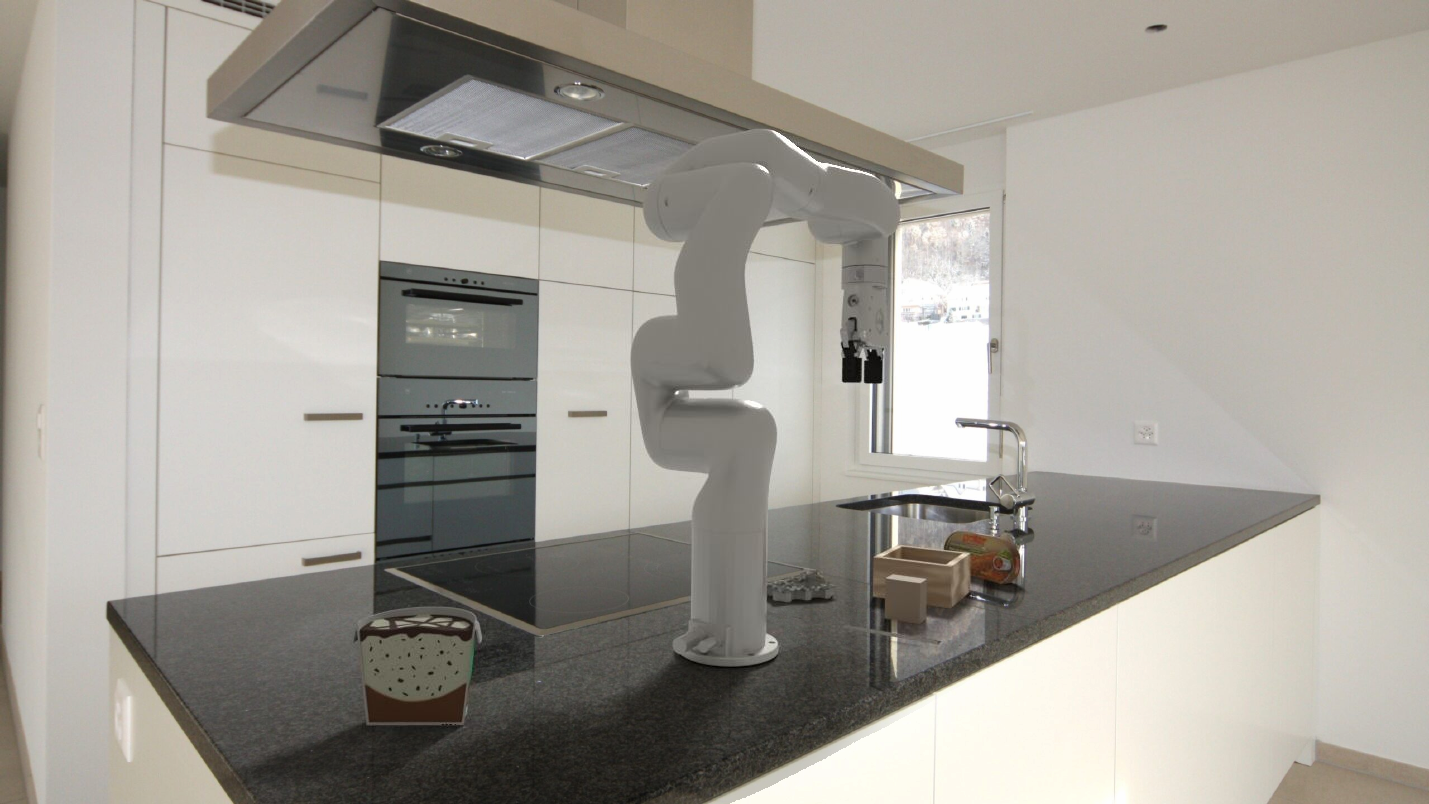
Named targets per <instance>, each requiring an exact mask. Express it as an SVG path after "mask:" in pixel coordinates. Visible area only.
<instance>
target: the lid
mask: <svg viewBox="0 0 1429 804" xmlns="http://www.w3.org/2000/svg"><path fill="white" fill-rule="evenodd" d="M926 603H927V579H923V578H916V577H908V576H901V575H894V574H892V575H891V576H889V577H887V578H885V599H884V619H885V620H892V621H898V622H904V623H911V624H916V625H921V624H922V623H923V622H925V621H927V605H926ZM843 629H847V630H852V631H859V632H865V633H871V634H875V635H881V636H888V637H892V638H899V639H903V640H904V639H905V640H910V641H916V642H921V643H927V644H931V645H932V644H933V645H937V646H938V645H939V644H941V642H942V641H941V640H936V639H929V638H925V637H924V638H923V637H918V636H913V635H907V634H902V633H896V632H890V631H884V630H878V629H873V628H872V629H871V628H866V627H860V626H854V625H848V624H844V628H843Z"/></svg>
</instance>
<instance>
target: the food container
mask: <svg viewBox="0 0 1429 804" xmlns="http://www.w3.org/2000/svg"><path fill="white" fill-rule="evenodd" d="M477 619H478V617H477V616H476V615H475V613H474V612H471V611H470V610H466V609H463V608H458V607H451V606H450V607H449V606H448V607H447V606H417V607H415V606H414V607H405V608H399V609H393V610H388V611H382V612H380V613H375V614H373V615H369V616H366V617H363V618H362V619H360V620H358V621H357V622H356V627H355V628H354V629H353V631H352V632H353V633H352V637H351V641H350V643H351V644H354V643H355V642H357V645H358V653H359V654H358V656H359V657H358V658H359V664H360V665H359V666H360V675H361V685H362V693H363V694H362V695H363V706H364V714H365V715H364V716H365V724H366V726H446V725H445V724H448V725H447V726H450V725H449V724H452V725H451V726H464V725H465V723H466V722H467V716H468V708H469V700H470V699H469V697H470V688H471V680H472V671H473V662H474V654H475V653H474V652H475V645H476V644H475V642H476V638H477V641H478V642H477V643H478V644H481V642H483V641H482V640H483V637H482V635H483V634H482V630H481V626H480V622H479V621H478V620H477ZM442 724H444V725H442ZM455 724H456V725H455Z"/></svg>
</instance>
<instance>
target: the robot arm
mask: <svg viewBox="0 0 1429 804" xmlns="http://www.w3.org/2000/svg"><path fill="white" fill-rule="evenodd" d="M899 203H900V202H899V200H898V198H897V196H896V195H895V193H894V192H893V190H892V189H891V188H890V187H889V186H888V185H887V184H886V183H885V182H883V181H882V180H881V179H879V178H878V177H877V176H875V175H872V174H870V173H867V172H863V171H860V170H857V169H856V170H855V169H850V168H845V167H841V166H838V165H833V164H829V163H821V162H818V161H816V160H815V159H814V158H812V157H811V156H810V155H808V154H807V153H806V152H804V151H803V150H802V149H800V148H799V147H797V146H796V145H795V144H794V143H793V142H791V141H790V140H789V139H787V138H786V137H785V136H783V135H782V134H780V133H778V132H776V131H775V130H772V129H767V128H754V129H748V130H744V131H740V132H734V133H730V134H724V135H720V136H714V137H709V138H706V139H705V140H702V141H700V142H699V143H697V144H696V145H694V146H693V147H691V148H689V150H688V151H686V152H684V153H683V154H681V156H679V158H677V159H676V160H674V161H673V162H672V163H671V164H669V165H668V166H667V167H666V168H665V169H663V170H662V171H661V172H660V173H659V174H657V175H656V176H655V177H654V178H653V179H652V181H650V183H649V184H648V186H647V188H646V190H645V193H644V195H643V200H642V212H643V213H642V214H643V219H644V222H645V224H646V226H647V228H648V229H649V231H650V233H652V235H654V236H655V237H656V238H658V239H659V240H661V241H664V242H668V243H683V245H682V247H681V249H680V251H679V254H678V257H677V259H676V262H675V266H674V271H673V286H674V294H675V303H676V304H675V305H676V314H672V315H671V314H668V315H667V314H666V315H660V316H655V317H652V318H649V319H648V320H646V321H645V322H643V324H641V325H640V327H638V329H637V331H636V332H635V335H634V337H633V340H632V344H631V348H630V371H631V378H632V383H633V389H634V390H633V391H634V396H635V403H636V408H637V413H638V418H639V425H640V430H641V435H642V439H643V440H642V441H643V444H644V446H645V450H646V453H647V454H648V456H649V458H650V459H651V460H652V462H653V463H654V464H655V465H656V466H658V467H660V468H662V469H666V470H669V471H670V470H671V471H678V472H687V473H699V474H700V473H701V474H706V475H708V476H707V478H706V480H705V482H704V484H703V486H702V487H701V489H700V490H699V492H698V493H697V496H696V497H695V500H694V502H693V505H692V510H691V568H690V569H691V571H690V574H691V575H690V577H691V578H690V579H691V580H690V583H691V584H690V585H691V586H690V619H689V620H688V630H687V631H686V633H684V634H682V635H680V636H677V637H675V638H674V639H673V641H672V648H673V651H674V652H675V653H676V654H679V655H681V656H682V657H684V658H685V659H687V660H689V661H692V662H695V663H697V664H701V665H707V666H715V667H716V666H717V667H745V666H747V667H748V666H753V665H759V664H763V663H766V662H768V661H770V660H772V659H774V658H775V657H776V656H777V655H778V654H779V641H778V640H777V638H775V637H774V636H772V635H770V634H768V633H767V614H768V613H767V610H768V609H767V607H768V606H767V601H768V600H767V599H768V595H767V582H768V535H769V533H768V529H769V527H768V526H769V525H768V523H769V521H768V518H769V517H768V515H769V510H768V509H769V493H770V492H769V491H770V481H771V474H772V469H773V463H774V459H775V453H776V448H777V441H778V427H777V423H776V419H775V418H774V416H773V415H772V413H771V412H770V411H769V409H767V408H766V407H765V406H764V405H762V404H760V403H758V402H756V401H752V400H748V399H742V398H729V397H728V398H722V397H721V398H719V397H709V398H703V397H702V398H697V397H695V398H694V397H692V398H691V397H690V392H689V391H708V392H709V391H727V390H734V389H738V388H740V387H742V386H744V385H745V384H747V383H748V382H749V380H750V379H751V378H752V375H753V372H754V366H755V365H754V363H755V357H754V345H753V344H754V342H753V335H752V329H751V328H752V327H751V321H750V320H751V319H750V314H749V313H750V312H749V305H748V297H747V289H746V275H745V273H746V264H747V259H748V255H749V253H750V251H751V247H752V245H753V243H754V240H755V238H756V236H757V235H758V232H759V231H760V230H761V228H762V226H763V225H764V223H766V220H767V219H768V216H769V214H770V212H771V209H772V208H773V209H774V210H776V211H778V212H779V213H782V214H784V216H786V217H789V218H791V219H795V220H801V221H802V220H803V221H806V223H807V228H808V230H809V232H810V234H811V235H812V237H814V239H816V240H817V241H819V242H821V243H822V244H825V245H826V244H827V245H841V277H840V279H841V280H840V281H841V282H840V285H841V288H840V289H841V290H843V295H842V307H841V309H842V310H841V325H840V326H841V328H840V329H839V334H840V339H841V341H840V346H841V351H840V352H841V353H840V354H841V382H842V383H843V384H844V383H845V384H849V383H850V384H852V383H853V384H861V383H862V381H863V382H864V384H866V385H867V384H871V385H872V384H873V385H875V384H878V385H879V384H883V381H884V379H883V377H884V376H883V375H884V372H883V371H884V351H885V348H887V347H888V345H889V324H888V323H889V322H888V320H889V319H888V305H887V304H888V303H887V302H888V301H887V295H886V290H887V289H888V276H889V275H888V269H889V268H888V267H889V266H888V265H889V264H888V262H889V261H888V259H889V258H888V255H889V237H890V236H892V235H893V234H895V232H896V230H897V229H898V227H899V225H900V221H901V207H900V204H899ZM862 350H863V351H864V352H863V353H864V356H865V359H864V360H863V358H862V357H861V354H862Z"/></svg>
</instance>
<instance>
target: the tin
mask: <svg viewBox="0 0 1429 804" xmlns="http://www.w3.org/2000/svg"><path fill="white" fill-rule="evenodd" d="M942 550H948V551H957V552H966V553H971V568H970V577H973V578H979V579H982V580H986V581H991V582H993V583H997V584H999V585H1008V584H1012V583H1014V581H1016V580H1017V578H1018V577H1019V575H1020V570H1021V556H1020V551H1019V550H1018V548H1017V547H1016V545H1015V544H1014V543H1013V542H1012V541H1011V540H1009V539H1008V538H1005V537H1001V536H996V535H989V534H984V533H978V532H973V531H965V530H964V531H963V530H957V531H954V532H952V533H951V534H950V535H949V536H947V538H946V540H945V542H944V546H943V549H942Z"/></svg>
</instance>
